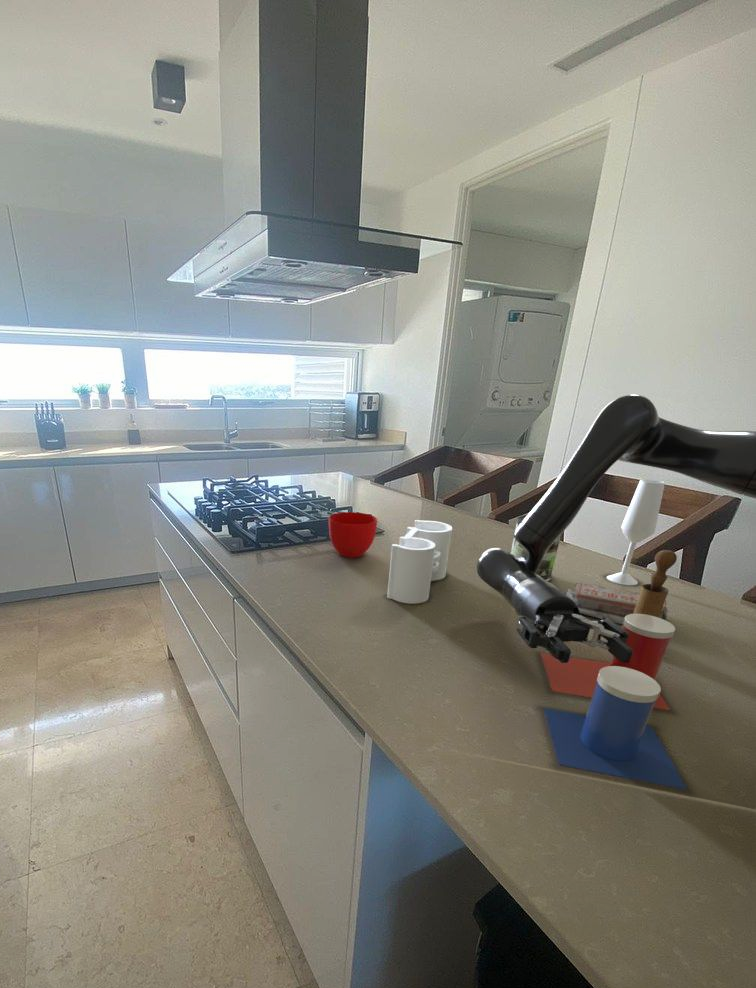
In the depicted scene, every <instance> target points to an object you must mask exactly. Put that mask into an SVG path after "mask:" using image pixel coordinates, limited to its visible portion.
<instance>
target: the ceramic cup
mask: <svg viewBox="0 0 756 988" xmlns="http://www.w3.org/2000/svg"><path fill="white" fill-rule="evenodd" d="M377 526H378V518H377V517H376V516H374V515H373V514H368V513H363V512H358V511H357V512H356V511H346V512H345V511H344V512H343V511H342V512H336V513H331V515H330V516H329V517H328V535H329V538H330V542H331V544H332V546H333V548H334V549H335V551H336V552H337V554H339V556H341V557H345V558H352V559H353V558H354V559H355V558H360V557H362V556H363V555H364V554H365V553H366V552H367V551H368V550H369V549H370V548H371V546H372V544H373V543H374V539H375V537H376V533H377Z"/></svg>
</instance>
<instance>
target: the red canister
mask: <svg viewBox="0 0 756 988" xmlns="http://www.w3.org/2000/svg"><path fill="white" fill-rule="evenodd" d="M622 625H623V627H622V628H623V629H624V630H626V631H627V632H629V636H628V638H627V641H626V645H628V646H629V647H630V648H631V649H633V653H632V656H631V659H630V662H629V663H621V662H620V661H619V660H618V659H617V658H616V657H614V656H613V655H612V658H611V661H610V663H611V664H610V666H620V667H626V668H630V669H633V670H637V671H639V672H642V673H644V674H646V675H648V676H649V677H651V678H653V679H654V680H655V681H657V678H658V675H659V673H660V670H661V667H662V664H663V661H664V659H665V656H666V654H667V651H668V648H669V645H670V643H671V641H672V637H673V636H674V635H675V631H676V626H674V624H672V623H671V622H670V621H667V619H666V620H663V619H661V618H658V617H655V616H651V615H646V614H628V615H626V616H625V618H624V621H623V624H622Z"/></svg>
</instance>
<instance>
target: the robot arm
mask: <svg viewBox="0 0 756 988" xmlns="http://www.w3.org/2000/svg"><path fill="white" fill-rule="evenodd" d="M616 462H622V463H623V462H624V463H629V464H634V465H635V464H636V465H640V466H646V467H651V468H656V469H662V470H666V471H669V472H674V473H678V474H681V475H683V476H686V477H689V478H691V479H694V480H697V481H700V482H703V483H705V484H707V485H712V486H714V487H718V488H721V489H724V490H725V491H726V490H727V491H730V492H733V493H735V494H738V495H741V496H745V497H748V498H751V499H755V500H756V430H755V431H754V430H708V429H707V430H705V429H699V428H695V427H691V426H686V425H683V424H680V423H676V422H674V421H670V420H668V419H665V418H662V417H660V416H659V413H658V410H657V407H656V406H655V404H654V402H652V401H651V399H649V398H648V397H646V396H643V395H641V394H627V395H623V396H620V397H617V398H615V399H613V400H612V401H610V402H608V404H607V405H606V406H604V407H603V408H602V409H601V411H600V412H599V413H598V415H597V417H596V418H595V419H594V421H593V423H592V425H591V426H590V427H589V429H588V431H587V433H586V434H585V436H584V438H583V439H582V441H581V442H580V445H578V447H577V448H576V450H575V452H574V454H573V455H572V457H571V458H570V460H569V461H568V462H567V464H566V465H565V467H564V468H563V469H562V471H561V472H560V474H559V475H558V476H557V478H556V479H555V480H554V481H553V483H552V484H551V485H550V487H549V488H548V490H547V491H546V492H545V493H544V494H543V495H542V497H541V498H540V499H539V501H538V502H537V503H536V504H535V505H534V506H533V507H532V509H531V510H530V511H529V512H528V514H526V515H527V516H526V517H525V518H524V520H523V521H522V522H521V523H520V524H519V526H518V527H517V528H516V527H515V529H514V531H513V539H514V538H515V540H516V541H517V542H518V543H519V544H520V545H521V546H522V552H521V555H520V557H519V559H518V558H517V557H515V556H514V555H512V554H511V552H509V551H508V550H506V549H504V548H501V547H491V548H489V549H486V550H485V551H484V552H483V553H482V554H480V556H479V557H478V559H477V563H476V572H477V575H478V577H479V578H480V579H481V580H482V581H483V582H484V583H485V584H486V585H488V586H489V587H490V588H492V589H493V590H495V591H496V592H498V593H499V594H500V595H501V596H502V597H503V598H504V599H505V600H506V602H507V603H508V604H509V605H510V606H511V607H512V608H513V609H514V611H515V613H516V615H518V616H519V619H518V622H517V626H516V632H517V633H518V634H519V636H520V637H521V638H522V640H523V641H524V643H525V644H526V645H527V647H528V648H531V649H537V648H538V647H541V649H542V650H544V651H547V652H548V653H549V654H550V655H553V657H554V658H556V659H558V660H559V661H560V662H561V663H568V661H569V657H570V658H571V654H572V650H571V648H570V647H569V646H568V645H567V644H566V643H569V642H574V643H575V642H576V643H580V644H583V645H585V646H588V647H590V648H596V647H599V648H602V649H604V650H607V652H608V653H610V654H611V655H612V657H613V656H614V657H616V658H617V659H618V660H619V661H620V662H621V663H629V662H630V659H631V656H632V653H633V649H631V648H630V647H629V646H628V645H626V641H627V638H628V636H629V632H627V631H626V630H624V629H623V628H621V627H620V626H621V625H619V624H618V623H615V622H613V621H611V620H610V619H608V618H607V617H604V616H599V618H597V620H591V619H589V618H588V617H586V616H583V614H580V612H579V609H578V606H577V605H576V603H575V602H574V601H573V600H572V599H570V598H569V597H568V596H567V595H566V594H565V593H564V592H563V591H561V590H560V589H559V588H558V587H557V586H556V585H554V584H553V583H551V582H549V581H548V582H547V581H545V580H544V579H543V578H541V577H540V576H539V575H538V574H536V571H537V569H538V567H539V565H540V563H541V561H542V559H543V558H544V556H545V554H546V552H547V550H548V549H549V548H550V546H551V545H552V543H554V542H555V541H556V540H557V539H558V537H559V536H560V535H561V536H562V534H563V533H564V532H565V530H567V528H568V527H569V526H570V525H571V523H572V522H573V521H574V519H575V518H576V516H577V515H578V514H579V512H580V510H581V509H582V507H583V506H584V505H585V502H586V500H587V499H588V497H589V495H590V493H591V492H592V491H593V489H594V488H595V486H596V485H597V484H598V482H600V480H601V479H602V477H603V476H604V475H605V474H606V473H607V471H608V470H609V469H610V468H611V467H612V466H613V465H614V464H615V463H616ZM590 630H593V634H592V637H591V639H590V638H588V637H589V634H590ZM601 638H603V639H604V640H606V641H603V640H601Z"/></svg>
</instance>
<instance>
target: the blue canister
mask: <svg viewBox="0 0 756 988" xmlns="http://www.w3.org/2000/svg"><path fill="white" fill-rule="evenodd" d="M661 691H662V688H661V686H660V684H659V682H657V680H654V679H653V678H651V677H649V676H648V675H646V674H644V673H642V672H639V671H637V670H633V669H630V668H626V667H620V666H607V667H604V668H602V669H600V671H599V673H598V676H597V683H596V686H595V689H594V692H593V695H592V698H590V701H589V702H590V703H589V705H588V708H587V711H586V714H585V715H586V717H585V721H584V724H583V727H582V730H581V733H580V738H581V741H582V742H583V744H584V745H585V746H586V747H587V748H588V749H590V750H591V751H592V752H594V753H596V754H598V755H600V756H602V757H605V758H608V759H611V760H617V761H626V760H630V759H632V758H633V757H634V756H635V754H636V751H637V748H638V746H639V743H640V741H641V738H642V735H643V733H644V730H645V727H646V725H648V723H649V720H650V717H651V714H652V711H653V710H654V708H653V707H654V704H655V701H656V700H657V699H658V697H659V694H660V695H661Z"/></svg>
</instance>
